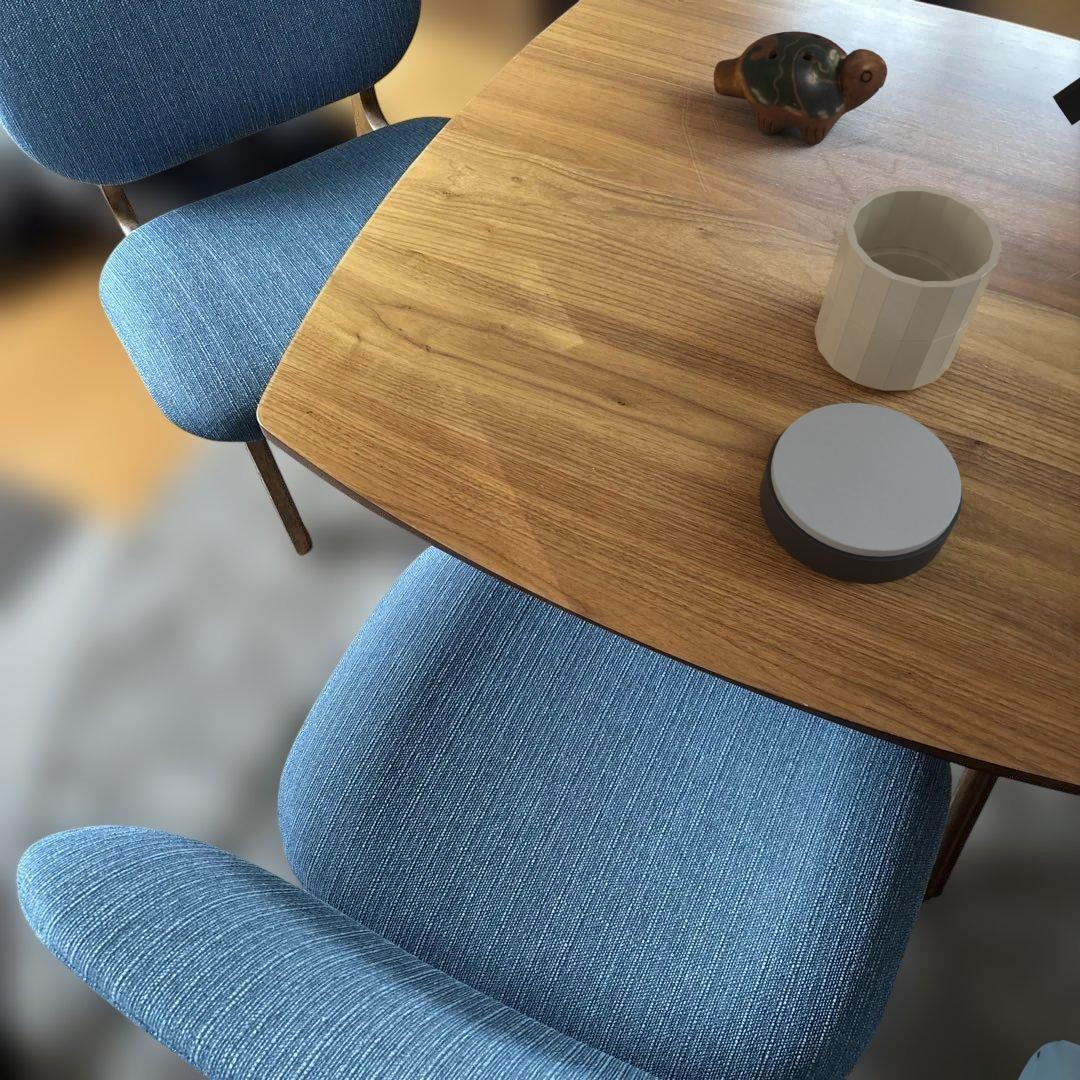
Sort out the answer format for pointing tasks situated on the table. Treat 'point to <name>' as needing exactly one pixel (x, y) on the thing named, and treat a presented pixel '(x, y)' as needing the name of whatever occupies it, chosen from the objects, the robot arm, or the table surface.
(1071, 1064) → the robot arm
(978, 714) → the table surface
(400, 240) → the table surface
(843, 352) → the faceted beige cup
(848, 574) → the scale
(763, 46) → the decorative turtle
